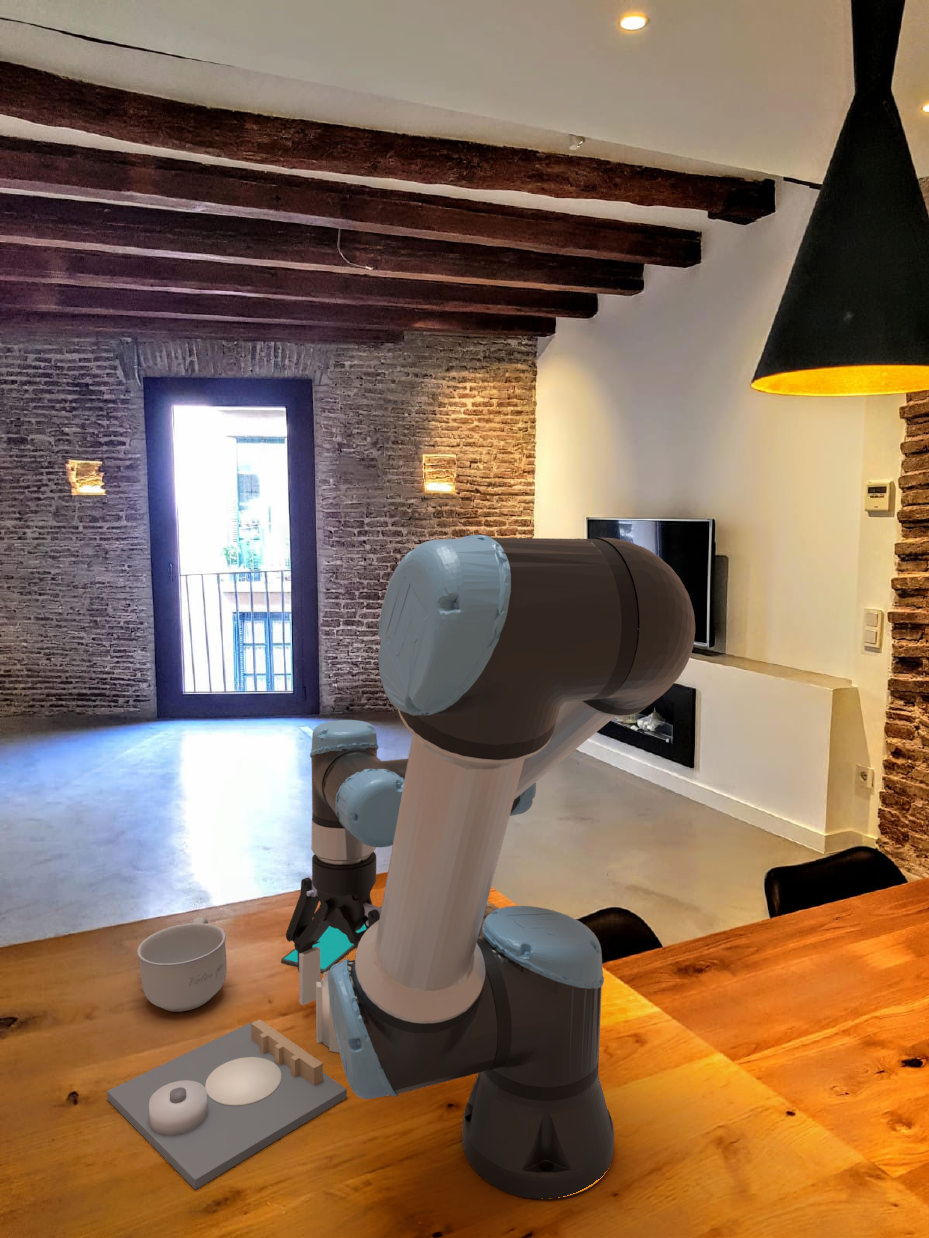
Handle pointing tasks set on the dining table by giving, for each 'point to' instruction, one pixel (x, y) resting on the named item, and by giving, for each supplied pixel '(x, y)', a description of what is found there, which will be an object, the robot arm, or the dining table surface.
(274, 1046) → the carrier plate
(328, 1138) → the dining table surface
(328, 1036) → the planet gear
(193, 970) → the teacup
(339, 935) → the smartphone
